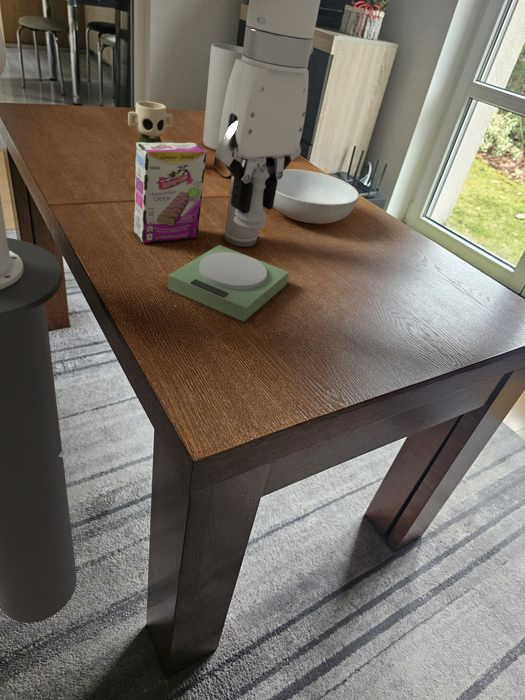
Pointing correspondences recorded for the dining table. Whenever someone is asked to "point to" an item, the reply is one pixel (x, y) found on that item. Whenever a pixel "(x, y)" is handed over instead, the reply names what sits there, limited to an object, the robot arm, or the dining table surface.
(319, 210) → the serving bowl
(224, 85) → the cylinder vase
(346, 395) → the dining table surface
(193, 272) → the kitchen scale
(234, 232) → the travel mug
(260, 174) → the rook chess piece
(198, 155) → the candy bar box
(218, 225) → the dining table surface
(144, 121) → the character mug
